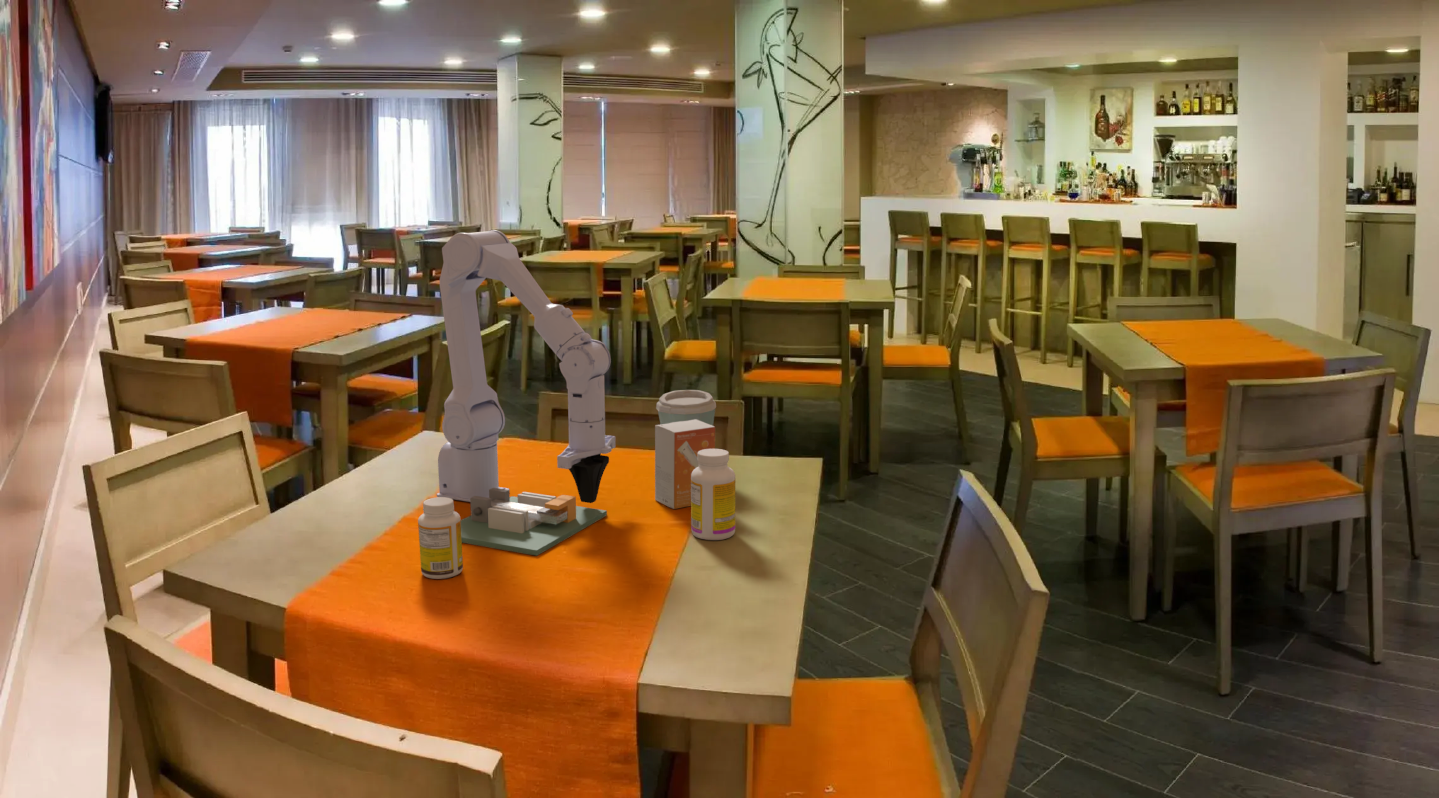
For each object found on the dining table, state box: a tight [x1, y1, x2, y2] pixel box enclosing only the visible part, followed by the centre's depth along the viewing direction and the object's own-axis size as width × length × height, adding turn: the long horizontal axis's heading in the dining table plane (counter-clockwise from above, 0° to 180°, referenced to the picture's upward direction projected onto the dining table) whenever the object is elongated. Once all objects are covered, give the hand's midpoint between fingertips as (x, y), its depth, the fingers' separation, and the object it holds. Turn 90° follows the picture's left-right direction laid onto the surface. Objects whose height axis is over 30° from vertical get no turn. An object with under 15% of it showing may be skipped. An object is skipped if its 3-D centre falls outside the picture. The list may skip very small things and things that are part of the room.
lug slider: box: [545, 494, 577, 523], centre depth 165 cm, size 2×5×4 cm, turn 156°
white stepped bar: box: [491, 499, 567, 524], centre depth 166 cm, size 13×3×2 cm, turn 66°
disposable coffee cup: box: [655, 389, 717, 426], centre depth 192 cm, size 11×11×15 cm
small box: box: [654, 419, 716, 510], centre depth 178 cm, size 8×6×13 cm
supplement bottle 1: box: [417, 496, 464, 580], centre depth 146 cm, size 6×6×10 cm
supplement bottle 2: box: [690, 448, 736, 541], centre depth 162 cm, size 7×7×13 cm
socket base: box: [460, 488, 608, 557], centre depth 166 cm, size 18×20×4 cm
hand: (588, 501), depth 173 cm, fingers closed
